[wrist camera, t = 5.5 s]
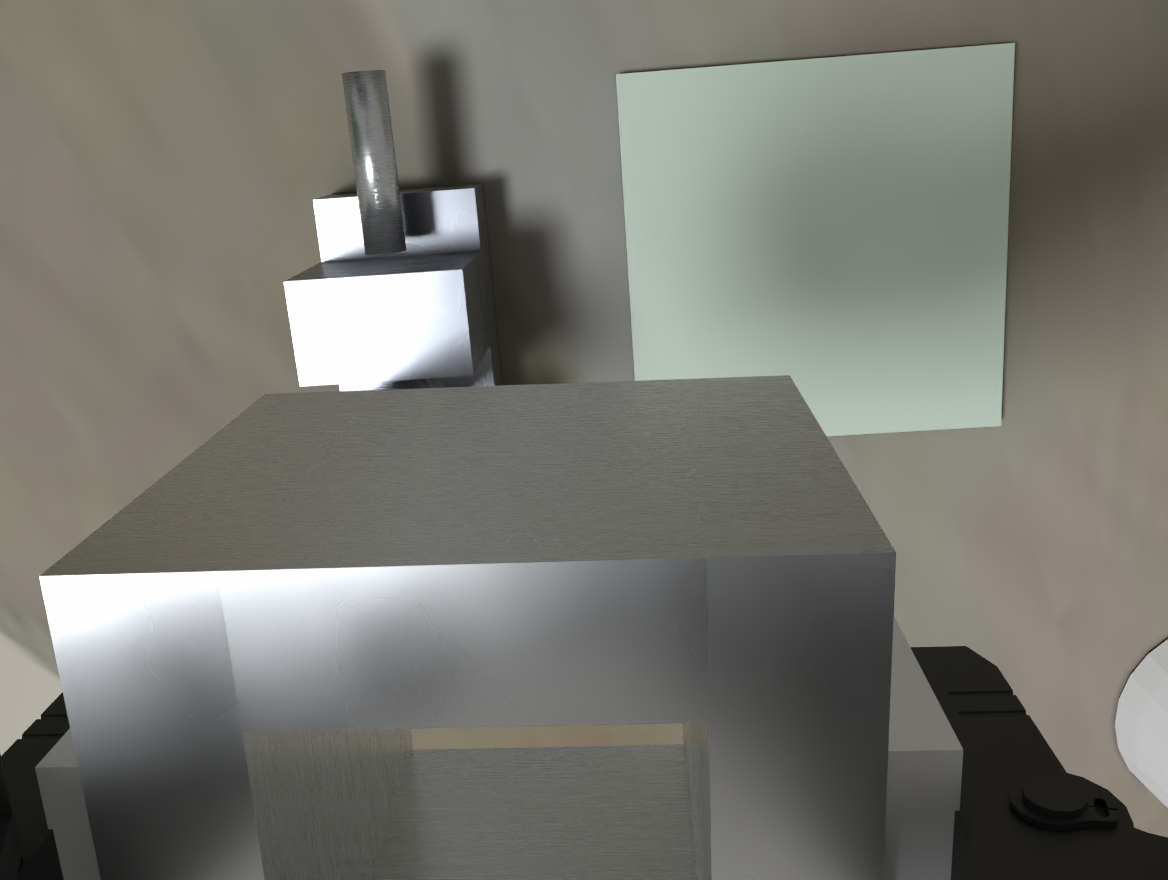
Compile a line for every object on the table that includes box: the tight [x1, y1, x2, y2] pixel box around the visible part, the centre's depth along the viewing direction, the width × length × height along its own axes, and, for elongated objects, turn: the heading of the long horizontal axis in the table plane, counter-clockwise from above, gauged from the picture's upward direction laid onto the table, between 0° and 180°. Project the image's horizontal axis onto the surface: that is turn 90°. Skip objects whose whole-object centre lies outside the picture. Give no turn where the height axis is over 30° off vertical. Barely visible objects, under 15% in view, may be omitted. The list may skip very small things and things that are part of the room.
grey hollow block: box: [39, 375, 896, 880], centre depth 13 cm, size 7×7×6 cm
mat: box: [616, 43, 1015, 436], centre depth 36 cm, size 12×12×1 cm
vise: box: [284, 70, 502, 391], centre depth 31 cm, size 16×5×14 cm, turn 4°
